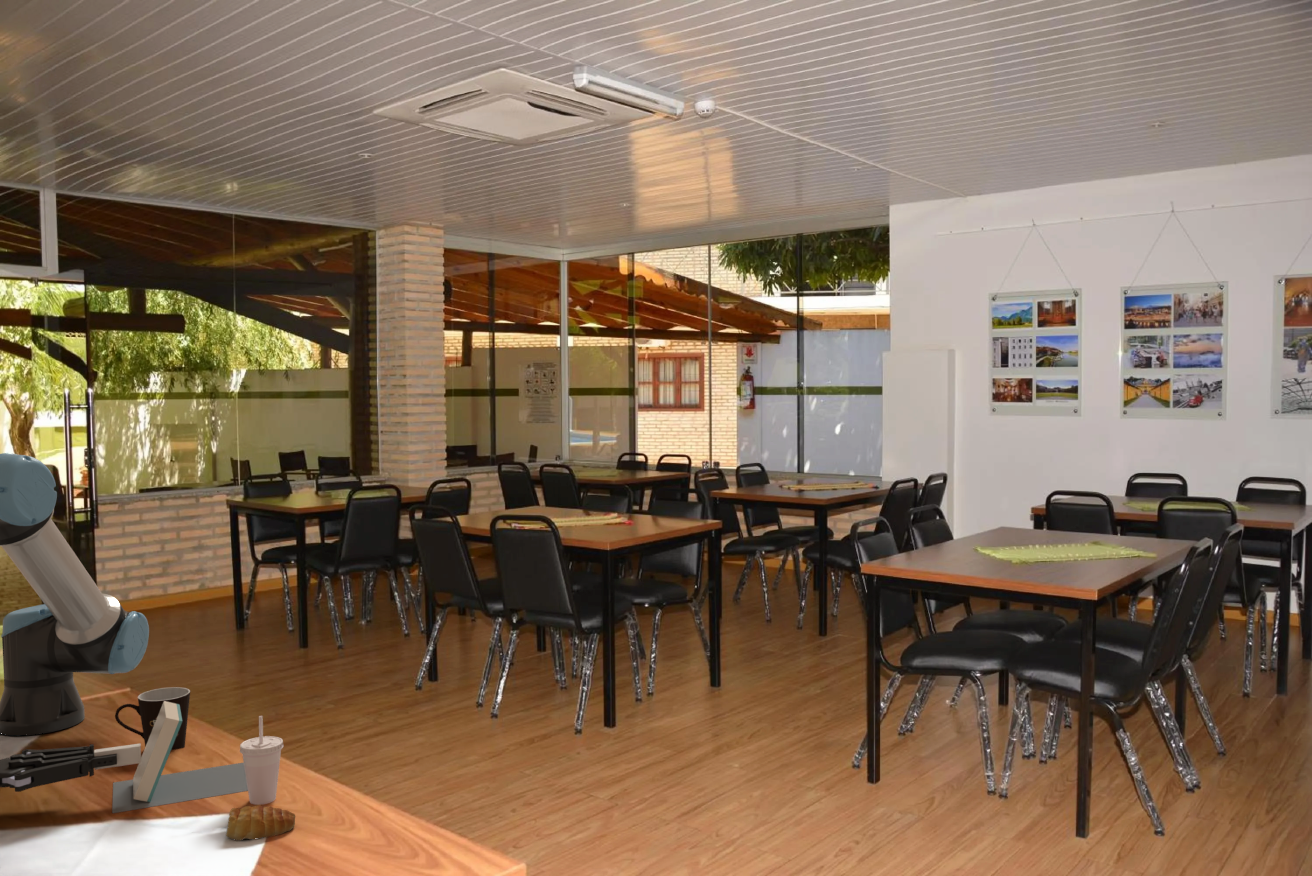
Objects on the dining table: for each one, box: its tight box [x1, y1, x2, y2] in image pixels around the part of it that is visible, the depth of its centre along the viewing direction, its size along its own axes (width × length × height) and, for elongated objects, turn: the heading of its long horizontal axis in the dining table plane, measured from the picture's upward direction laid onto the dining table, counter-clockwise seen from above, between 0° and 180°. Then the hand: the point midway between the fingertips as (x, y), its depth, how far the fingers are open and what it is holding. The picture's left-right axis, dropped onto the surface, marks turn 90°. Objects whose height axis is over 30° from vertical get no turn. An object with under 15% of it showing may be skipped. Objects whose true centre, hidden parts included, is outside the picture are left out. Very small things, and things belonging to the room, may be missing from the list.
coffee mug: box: [114, 686, 191, 751], centre depth 188 cm, size 12×9×10 cm
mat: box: [111, 762, 248, 814], centre depth 169 cm, size 14×20×1 cm
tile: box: [132, 701, 182, 802], centre depth 167 cm, size 10×2×13 cm, turn 27°
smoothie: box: [239, 715, 284, 806], centre depth 163 cm, size 6×6×14 cm
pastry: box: [225, 804, 296, 841], centre depth 153 cm, size 9×7×4 cm
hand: (140, 753), depth 165 cm, fingers closed
